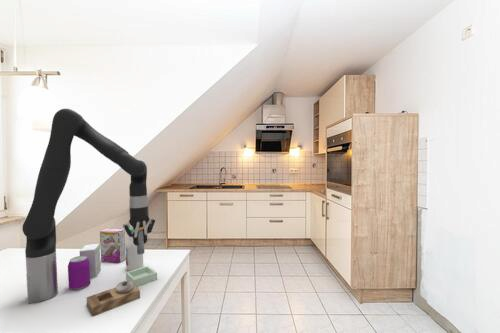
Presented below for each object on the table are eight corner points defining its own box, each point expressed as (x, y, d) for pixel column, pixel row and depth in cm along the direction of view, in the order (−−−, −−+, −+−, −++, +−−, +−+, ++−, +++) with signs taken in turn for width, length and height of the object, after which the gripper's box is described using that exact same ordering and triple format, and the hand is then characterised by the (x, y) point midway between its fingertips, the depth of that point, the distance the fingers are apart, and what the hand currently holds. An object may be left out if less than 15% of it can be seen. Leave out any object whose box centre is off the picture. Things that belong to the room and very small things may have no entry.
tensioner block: (92, 316, 87) (91, 299, 87) (86, 305, 94) (86, 289, 94) (140, 297, 98) (139, 283, 98) (131, 288, 105) (131, 275, 105)
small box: (86, 271, 121) (85, 244, 121) (101, 269, 123) (100, 243, 123) (80, 279, 114) (79, 250, 113) (96, 277, 116) (95, 249, 115)
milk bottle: (146, 264, 128) (145, 225, 127) (138, 271, 120) (136, 230, 119) (131, 264, 129) (130, 225, 128) (122, 271, 121) (121, 230, 120)
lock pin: (134, 253, 112) (133, 226, 112) (143, 250, 115) (142, 224, 115) (138, 255, 110) (136, 228, 109) (146, 253, 112) (145, 226, 112)
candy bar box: (100, 262, 132) (99, 231, 131) (107, 258, 137) (105, 228, 136) (120, 263, 130) (118, 232, 129) (126, 259, 135) (125, 229, 134)
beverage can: (68, 285, 108) (66, 258, 108) (89, 279, 113) (87, 253, 113) (69, 292, 103) (68, 263, 102) (91, 286, 107) (90, 258, 107)
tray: (133, 287, 106) (133, 280, 106) (125, 279, 113) (125, 272, 113) (157, 279, 113) (157, 272, 113) (148, 271, 120) (148, 265, 120)
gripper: (151, 202, 119) (152, 238, 120) (118, 206, 109) (120, 246, 110) (158, 204, 114) (159, 242, 114) (124, 209, 104) (126, 250, 105)
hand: (140, 243), depth 112 cm, fingers closed on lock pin, 3 cm apart
